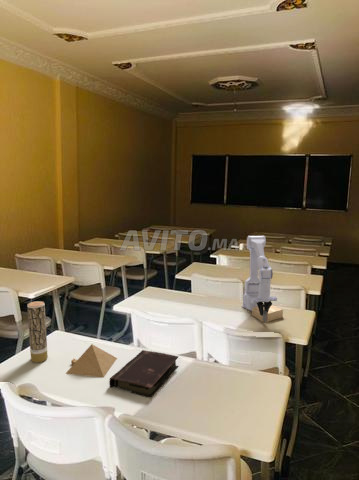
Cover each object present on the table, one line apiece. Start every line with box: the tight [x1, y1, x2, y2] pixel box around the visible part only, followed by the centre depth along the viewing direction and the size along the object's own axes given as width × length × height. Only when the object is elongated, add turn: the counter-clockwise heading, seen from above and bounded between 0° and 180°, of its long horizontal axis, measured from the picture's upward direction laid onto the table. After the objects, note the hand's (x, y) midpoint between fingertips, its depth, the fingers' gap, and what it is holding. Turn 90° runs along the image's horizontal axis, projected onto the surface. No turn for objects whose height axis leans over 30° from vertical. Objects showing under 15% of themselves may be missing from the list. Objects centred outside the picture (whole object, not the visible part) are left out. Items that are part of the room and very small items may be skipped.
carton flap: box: [251, 308, 268, 323], centre depth 210 cm, size 13×1×7 cm, turn 21°
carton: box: [253, 304, 284, 322], centre depth 216 cm, size 11×12×4 cm
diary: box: [108, 349, 180, 398], centre depth 152 cm, size 19×25×5 cm
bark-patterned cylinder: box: [26, 300, 48, 363], centre depth 163 cm, size 7×7×25 cm
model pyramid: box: [65, 343, 118, 378], centre depth 160 cm, size 17×17×10 cm
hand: (263, 314), depth 205 cm, fingers closed
